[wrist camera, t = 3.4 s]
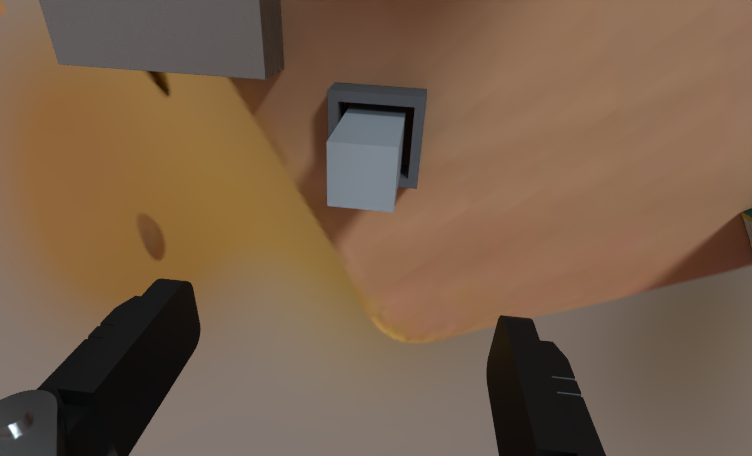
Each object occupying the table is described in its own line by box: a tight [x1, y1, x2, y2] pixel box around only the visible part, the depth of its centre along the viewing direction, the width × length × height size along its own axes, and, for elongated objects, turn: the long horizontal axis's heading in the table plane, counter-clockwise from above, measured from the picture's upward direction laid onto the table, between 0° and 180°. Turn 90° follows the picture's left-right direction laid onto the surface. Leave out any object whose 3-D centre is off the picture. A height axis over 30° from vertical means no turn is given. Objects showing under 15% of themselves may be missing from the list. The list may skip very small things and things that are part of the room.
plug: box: [327, 103, 407, 212], centre depth 28 cm, size 4×4×9 cm
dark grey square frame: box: [328, 83, 427, 189], centre depth 31 cm, size 7×7×2 cm
